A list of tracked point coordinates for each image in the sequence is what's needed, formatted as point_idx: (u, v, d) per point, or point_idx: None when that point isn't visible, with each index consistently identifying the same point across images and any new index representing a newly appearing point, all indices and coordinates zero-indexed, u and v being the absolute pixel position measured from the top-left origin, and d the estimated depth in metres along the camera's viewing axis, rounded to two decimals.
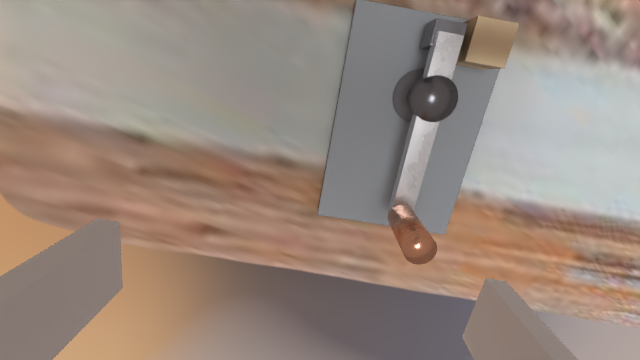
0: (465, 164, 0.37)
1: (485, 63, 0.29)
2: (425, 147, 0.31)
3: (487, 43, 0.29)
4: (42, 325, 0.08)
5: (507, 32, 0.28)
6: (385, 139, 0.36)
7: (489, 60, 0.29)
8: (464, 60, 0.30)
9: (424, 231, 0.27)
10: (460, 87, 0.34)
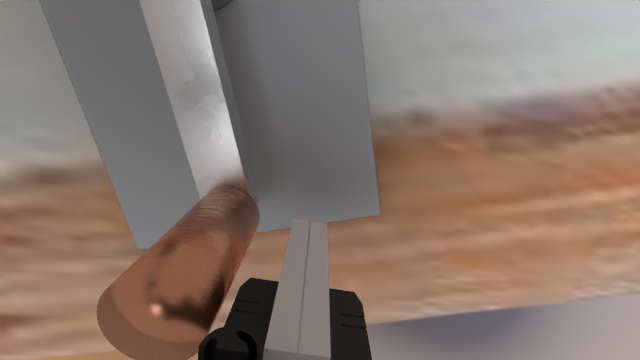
0: (358, 62, 0.17)
1: None
2: (191, 34, 0.12)
3: None
4: None
5: None
6: None
7: None
8: None
9: (162, 257, 0.09)
10: None
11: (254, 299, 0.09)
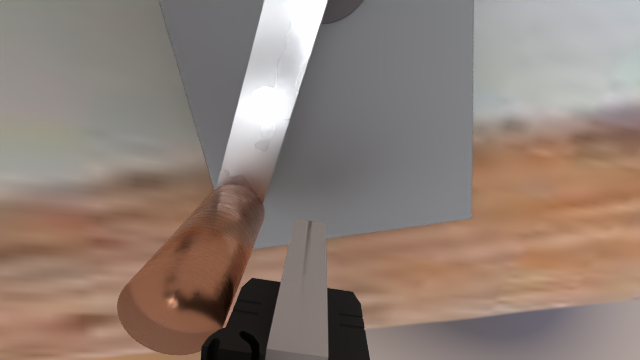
0: (468, 72, 0.18)
1: None
2: (294, 51, 0.13)
3: None
4: None
5: None
6: None
7: None
8: None
9: (202, 259, 0.09)
10: None
11: (256, 299, 0.09)
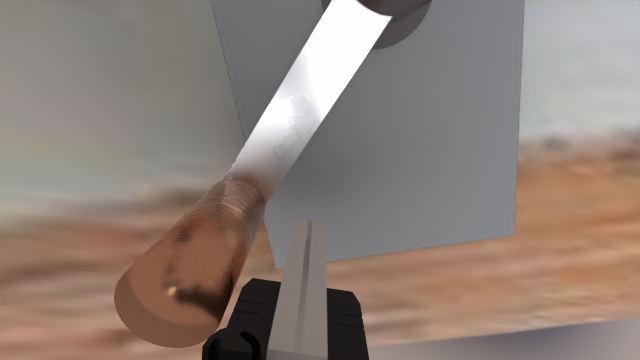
0: (515, 94, 0.18)
1: None
2: (337, 70, 0.13)
3: None
4: None
5: None
6: (341, 100, 0.18)
7: None
8: None
9: (212, 256, 0.09)
10: None
11: (256, 299, 0.09)
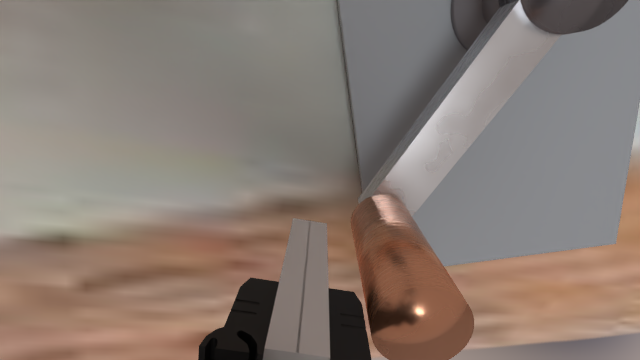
0: (634, 105, 0.18)
1: None
2: (499, 88, 0.13)
3: None
4: None
5: None
6: None
7: None
8: None
9: (450, 279, 0.09)
10: None
11: (254, 299, 0.09)
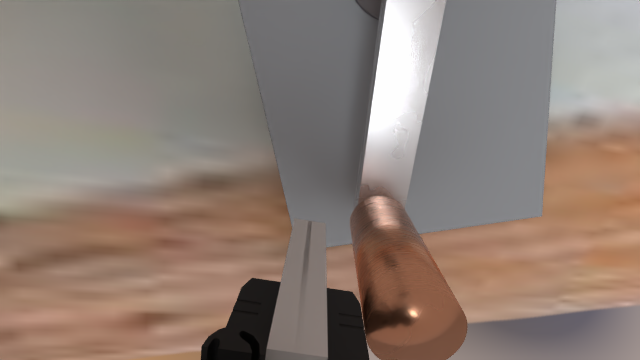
0: (546, 68, 0.17)
1: None
2: (419, 54, 0.13)
3: None
4: None
5: None
6: (365, 77, 0.18)
7: None
8: None
9: (426, 273, 0.09)
10: None
11: (256, 299, 0.09)
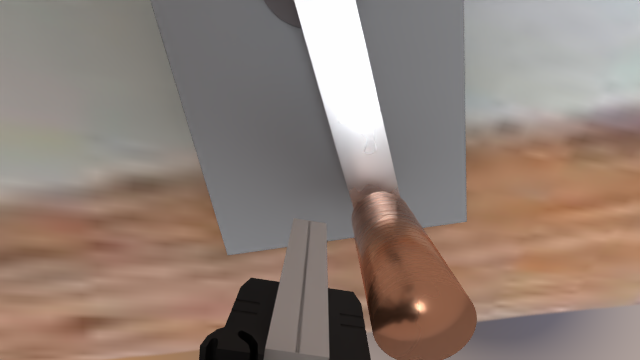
0: (459, 75, 0.18)
1: None
2: (350, 50, 0.13)
3: None
4: None
5: None
6: (282, 82, 0.18)
7: None
8: None
9: (415, 263, 0.09)
10: None
11: (255, 299, 0.09)
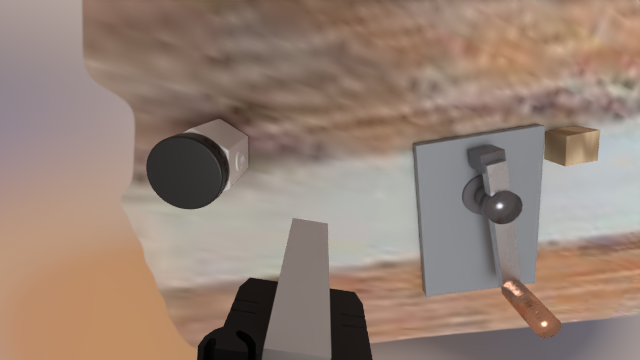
0: (536, 228, 0.44)
1: None
2: (510, 238, 0.40)
3: None
4: None
5: None
6: (465, 230, 0.45)
7: None
8: (595, 160, 0.39)
9: (544, 312, 0.36)
10: (514, 177, 0.42)
11: (254, 299, 0.09)
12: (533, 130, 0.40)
